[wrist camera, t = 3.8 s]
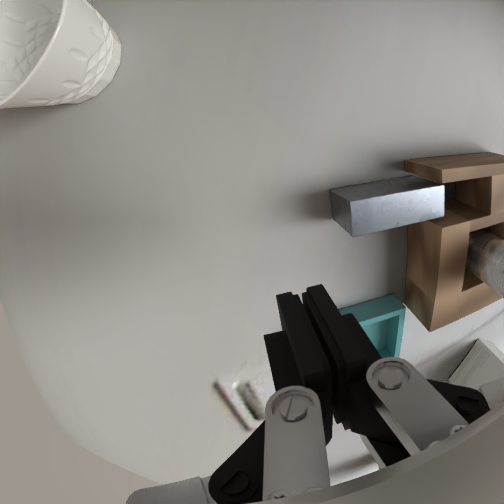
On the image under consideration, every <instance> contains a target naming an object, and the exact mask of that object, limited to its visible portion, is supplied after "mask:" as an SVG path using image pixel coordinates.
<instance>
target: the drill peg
mask: <svg viewBox="0 0 504 504" xmlns="http://www.w3.org/2000/svg"><path fill="white" fill-rule="evenodd" d="M465 268H466V269H467V270H468V271H470V272H471V273H472V274H474V275H475V276H476V277H478V278H479V279H480V280H482V281H483V282H484V283H486V284H487V285H488V286H489V287H491V288H492V289H493V290H494V291H496V292H497V293H498V294H499V295H501V296H502V297H503V298H504V240H502V239H500V238H498V237H497V236H495V235H493V234H491V233H489V232H487V231H486V230H484V229H482V228H481V229H478V230H475V231H471V232H469V241H468V251H467V259H466V266H465Z"/></svg>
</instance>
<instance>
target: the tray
mask: <svg viewBox="0 0 504 504" xmlns="http://www.w3.org/2000/svg"><path fill="white" fill-rule="evenodd" d="M405 309H406V307H405V306H404V305H403V304H402V303H401V302H400V301H399V299H398V298H397V297H396V296H395V295H394V294H391V295H388V296H384V297H381V298H378V299H374V300H371V301H367V302H364V303H361V304H357V305H354V306H350V307H346V308H343V309H339V312H340V313H341V315H344V314H347V313H352V314H353V315H354V316H355V318H356V319H357V321H358V322H359V324H360V325H361V327H362V328H363V330H364V331H365V333H366V334H367V336H368V337H369V339H370V340H371V342H372V343H373V345H374V346H375V348H376V349H377V351H378V352H379V354H380V355H381V357H382V358H386V357H398V358H399V354H400V348H401V341H402V334H403V327H404V318H405Z"/></svg>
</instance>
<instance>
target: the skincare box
mask: <svg viewBox="0 0 504 504" xmlns="http://www.w3.org/2000/svg"><path fill="white" fill-rule="evenodd" d="M502 377H504V354H503V353H502V352H501V351H500V350H499V349H498V348H497V347H496V346H495V345H494V344H493V343H491V342H488V341H485V340H482V339H478V340H477V341H476V343H475V344H474V346H473V347H472V349H471V350H470V352H469V353H468V355H467V356H466V357H465V359H464V360H463V362H462V363H461V364H460V366H459V367H458V368H457V370H456V371H455V372H454V373H453V375H452V376H451V377H450V378H449V380H448V381H449V383H450V384H453V385H459V386H464V387H470V388H473V389H476V390H477V389H479V387H480V386H481V385H483V384H486V383H489V382H492V381H494V380H497V379H500V378H502Z"/></svg>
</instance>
